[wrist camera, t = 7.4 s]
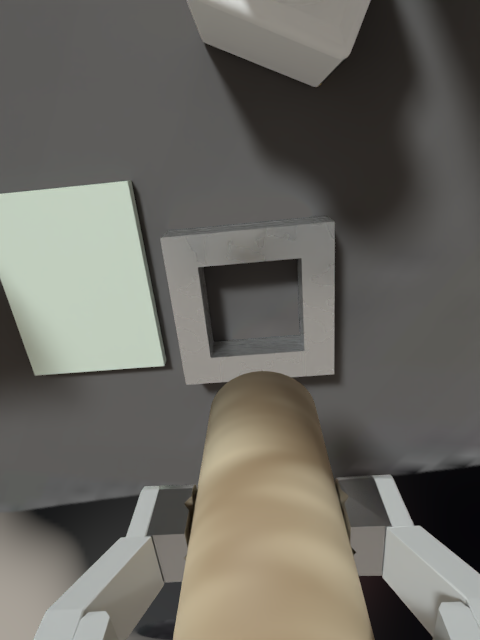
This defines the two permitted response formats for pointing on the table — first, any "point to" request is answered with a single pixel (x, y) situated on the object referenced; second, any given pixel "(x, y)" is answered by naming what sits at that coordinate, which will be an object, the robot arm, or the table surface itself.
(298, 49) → the medicine bottle
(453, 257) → the table surface
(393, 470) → the table surface
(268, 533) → the maple peg
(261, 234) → the eye collar
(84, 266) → the sage pad
